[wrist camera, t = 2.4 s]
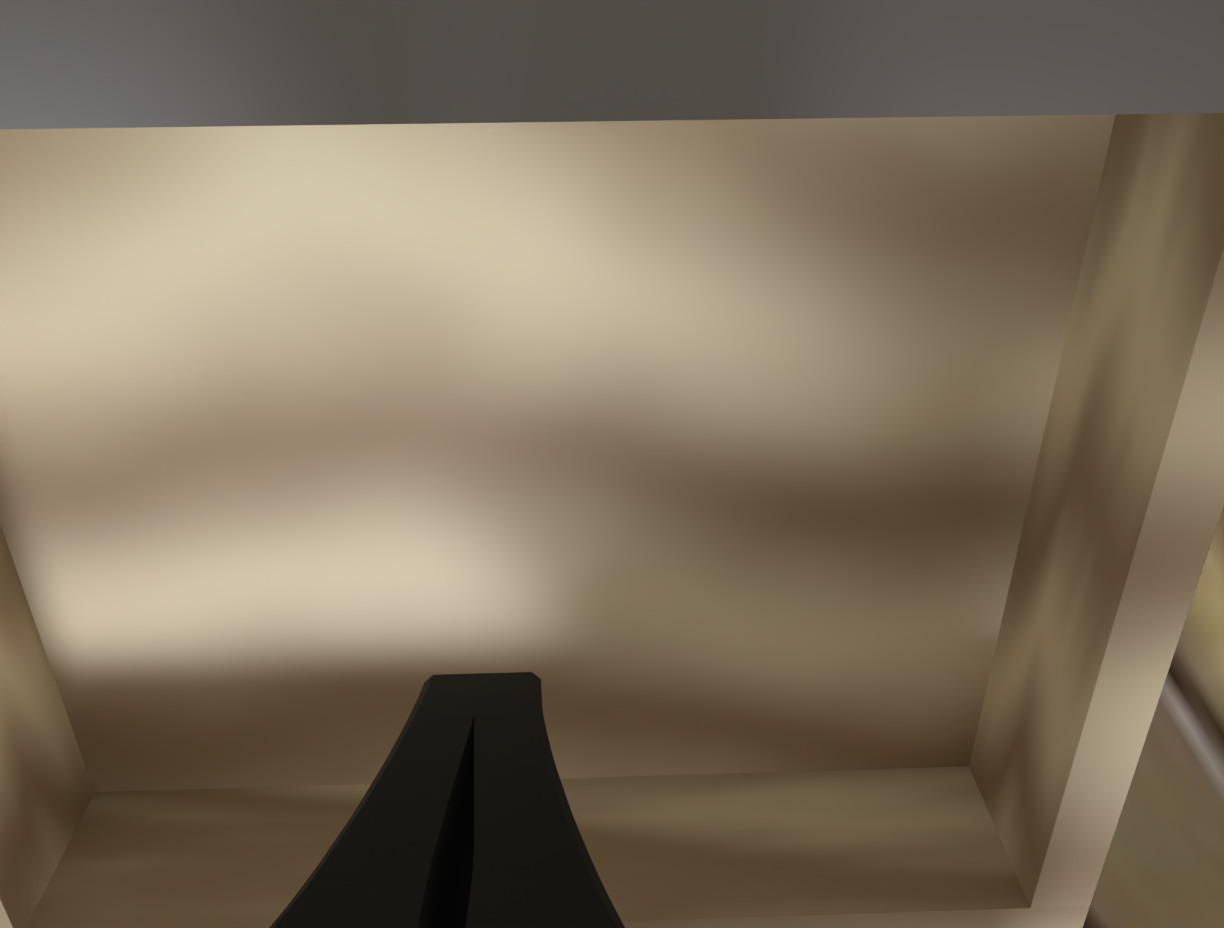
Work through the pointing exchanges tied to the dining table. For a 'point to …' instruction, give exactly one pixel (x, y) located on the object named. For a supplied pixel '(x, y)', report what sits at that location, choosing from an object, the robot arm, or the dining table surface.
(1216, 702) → the dining table surface
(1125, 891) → the dining table surface
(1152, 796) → the dining table surface
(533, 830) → the robot arm
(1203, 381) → the cart bed
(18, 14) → the panel
